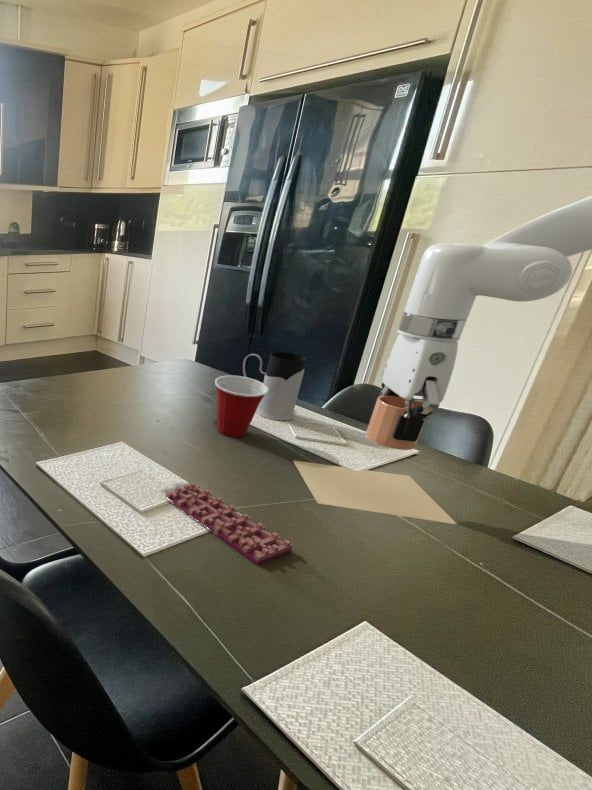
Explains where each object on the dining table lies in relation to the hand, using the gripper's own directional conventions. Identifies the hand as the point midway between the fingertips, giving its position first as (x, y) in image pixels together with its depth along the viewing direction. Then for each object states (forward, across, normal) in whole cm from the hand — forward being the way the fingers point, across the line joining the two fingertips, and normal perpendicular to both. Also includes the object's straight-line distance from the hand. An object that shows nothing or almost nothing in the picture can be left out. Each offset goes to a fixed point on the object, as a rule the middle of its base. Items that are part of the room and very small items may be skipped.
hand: (393, 429), depth 82 cm
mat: (+13, 0, 0) cm, 13 cm away
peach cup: (+2, 0, 0) cm, 2 cm away
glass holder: (+13, +38, +10) cm, 41 cm away
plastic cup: (+13, +21, +20) cm, 32 cm away
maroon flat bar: (+13, -17, +27) cm, 35 cm away
